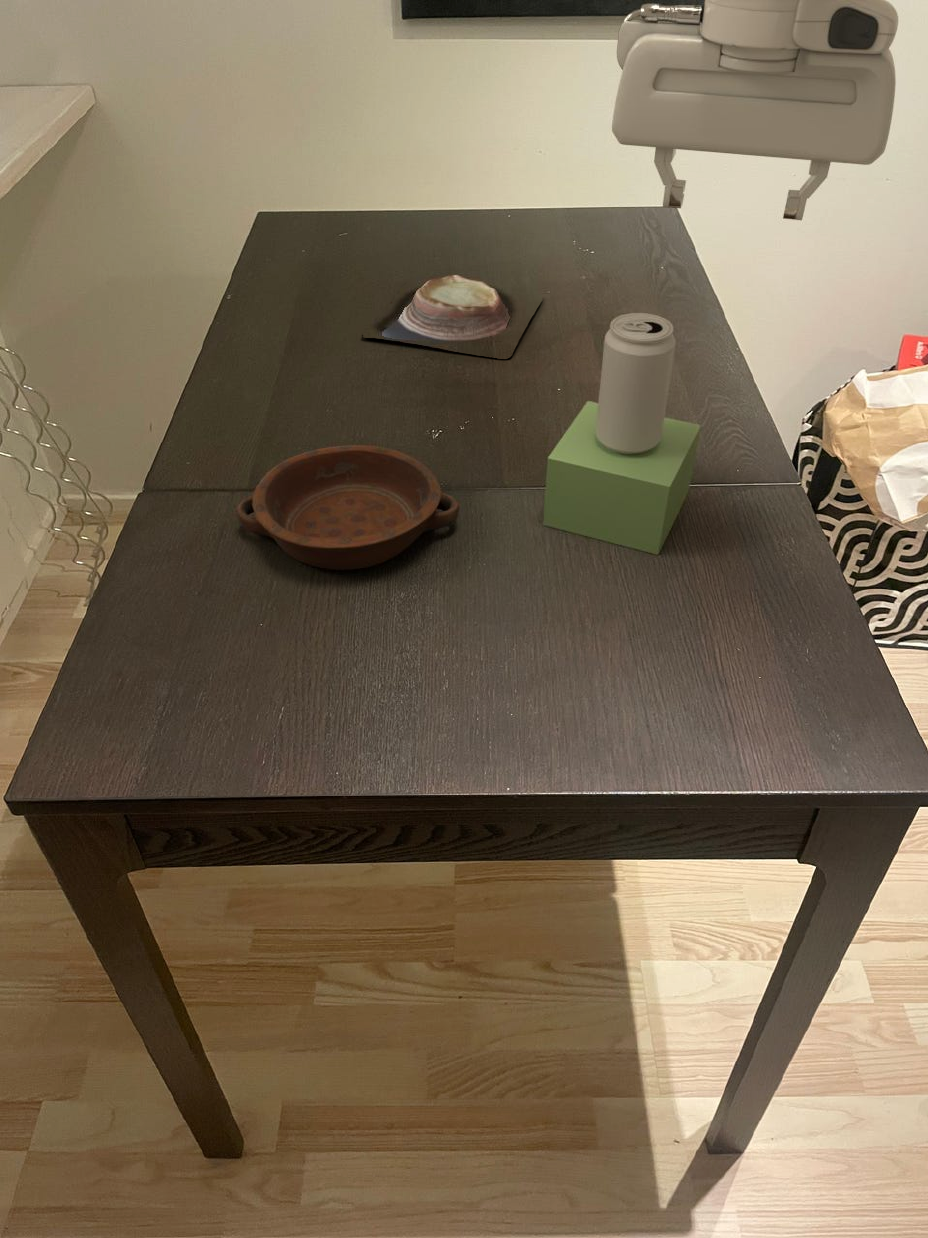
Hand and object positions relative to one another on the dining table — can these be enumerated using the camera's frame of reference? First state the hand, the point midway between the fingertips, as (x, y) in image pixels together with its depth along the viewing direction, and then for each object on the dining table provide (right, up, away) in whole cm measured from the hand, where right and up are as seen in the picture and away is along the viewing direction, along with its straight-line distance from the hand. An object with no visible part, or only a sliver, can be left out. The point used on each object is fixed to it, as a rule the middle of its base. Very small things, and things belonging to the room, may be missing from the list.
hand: (731, 211), depth 76 cm
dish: (-33, -24, +20) cm, 45 cm away
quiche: (-23, +9, +56) cm, 61 cm away
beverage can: (-5, -15, +17) cm, 24 cm away
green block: (-6, -21, +23) cm, 31 cm away
